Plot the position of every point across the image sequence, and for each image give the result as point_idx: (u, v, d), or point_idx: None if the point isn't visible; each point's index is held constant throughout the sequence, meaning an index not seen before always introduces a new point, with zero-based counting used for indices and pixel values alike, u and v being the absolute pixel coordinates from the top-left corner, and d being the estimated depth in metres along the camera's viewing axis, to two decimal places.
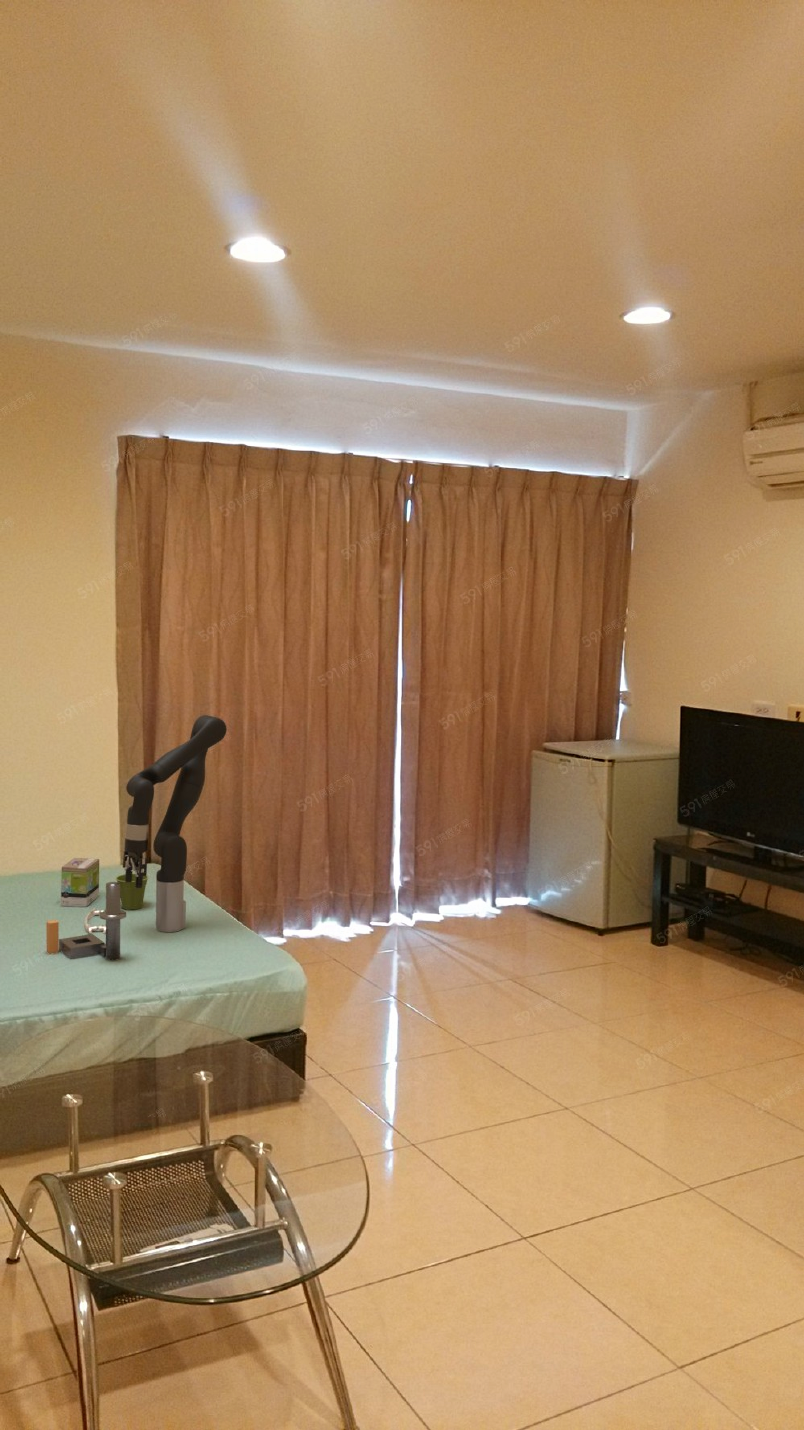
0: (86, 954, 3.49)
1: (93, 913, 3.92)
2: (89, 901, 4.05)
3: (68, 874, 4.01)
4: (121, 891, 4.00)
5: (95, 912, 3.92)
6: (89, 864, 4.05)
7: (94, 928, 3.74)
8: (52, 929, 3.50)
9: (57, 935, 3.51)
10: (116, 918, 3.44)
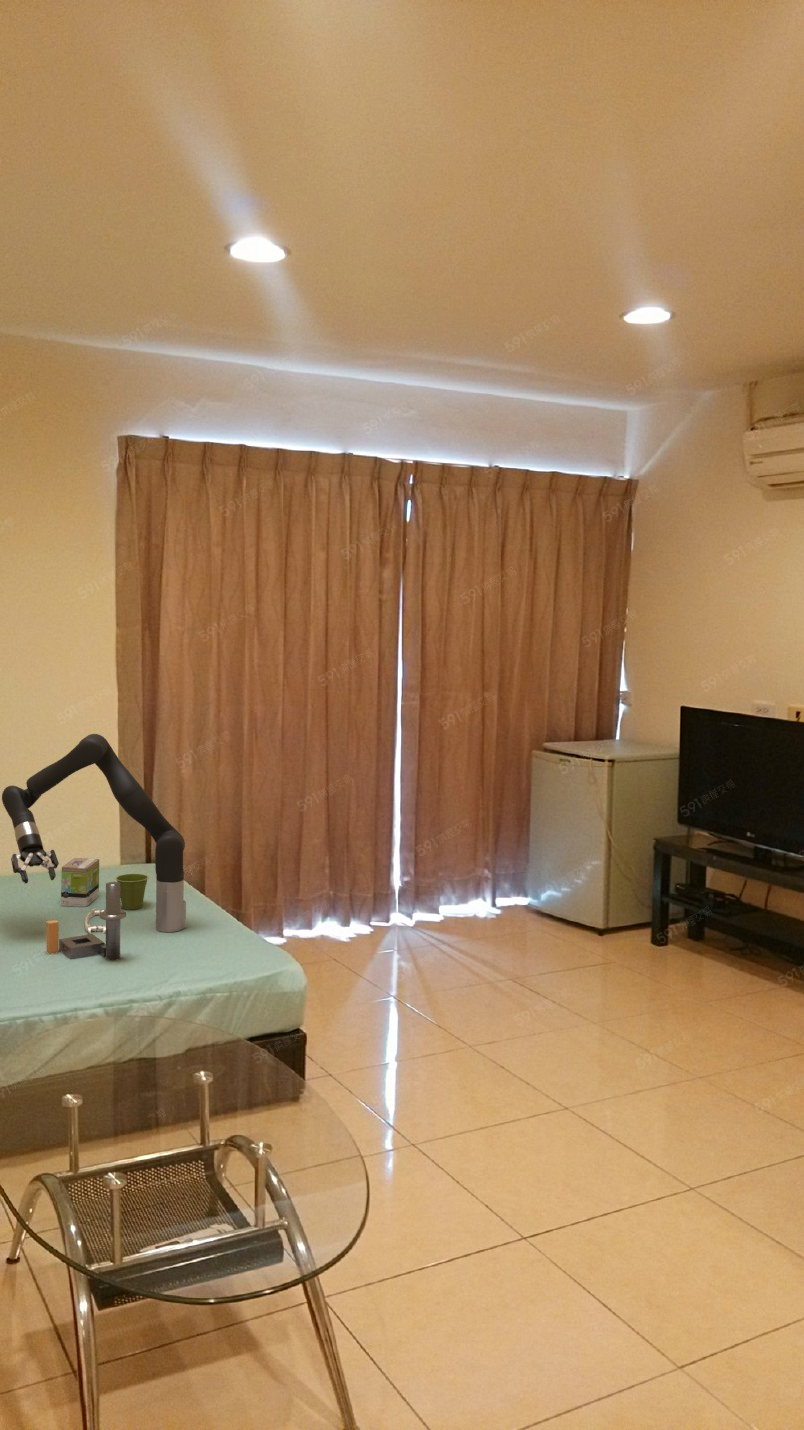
0: (86, 954, 3.49)
1: (93, 913, 3.92)
2: (89, 901, 4.05)
3: (68, 874, 4.01)
4: (121, 891, 4.00)
5: (95, 912, 3.92)
6: (89, 864, 4.05)
7: (94, 928, 3.74)
8: (52, 929, 3.50)
9: (57, 935, 3.51)
10: (116, 918, 3.44)
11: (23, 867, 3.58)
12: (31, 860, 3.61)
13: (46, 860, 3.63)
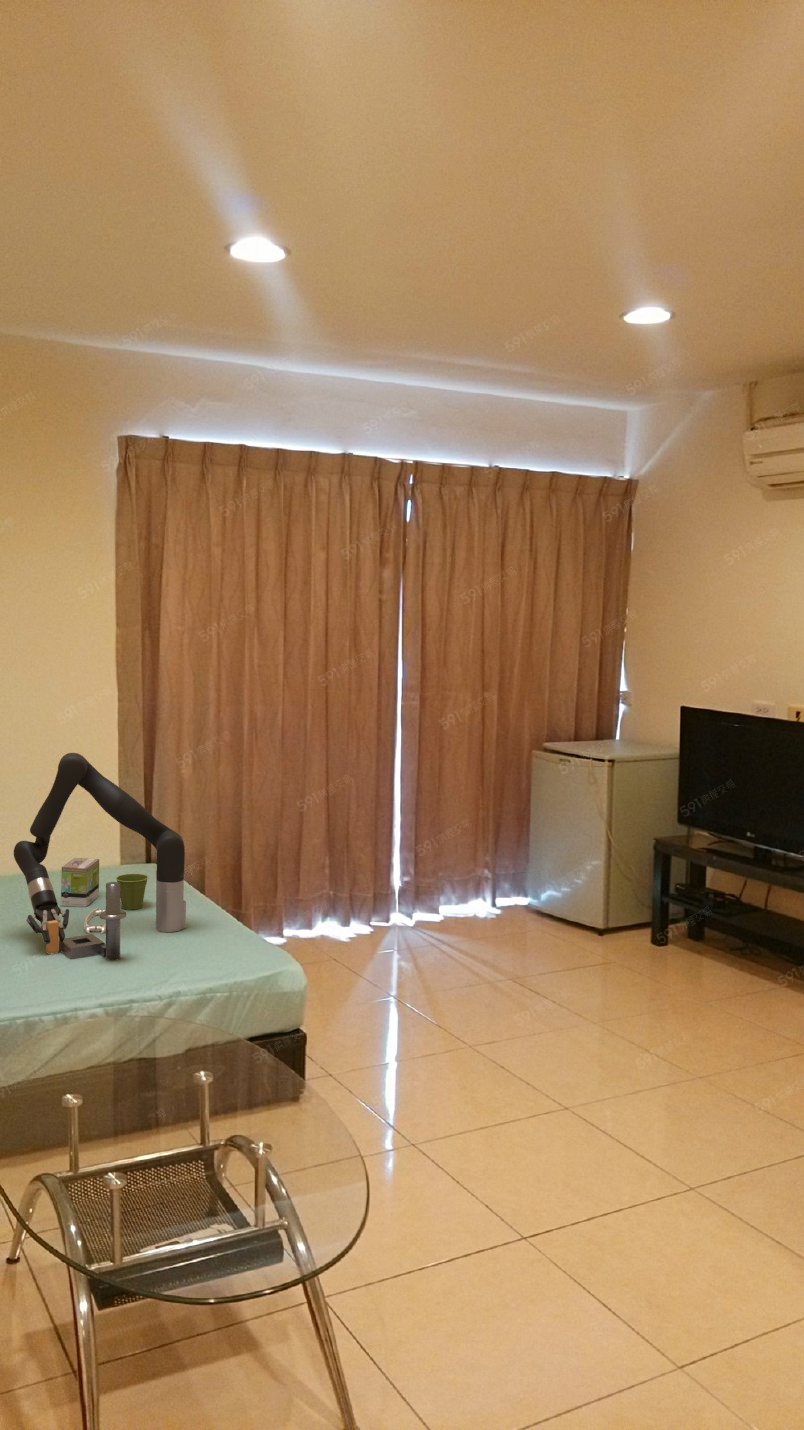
0: (86, 954, 3.49)
1: (95, 913, 3.92)
2: (89, 901, 4.05)
3: (68, 874, 4.01)
4: (121, 891, 4.00)
5: (97, 912, 3.92)
6: (89, 864, 4.05)
7: (92, 928, 3.74)
8: (52, 929, 3.50)
9: (57, 935, 3.51)
10: (116, 918, 3.44)
11: (44, 927, 3.50)
12: (47, 917, 3.53)
13: (57, 919, 3.54)
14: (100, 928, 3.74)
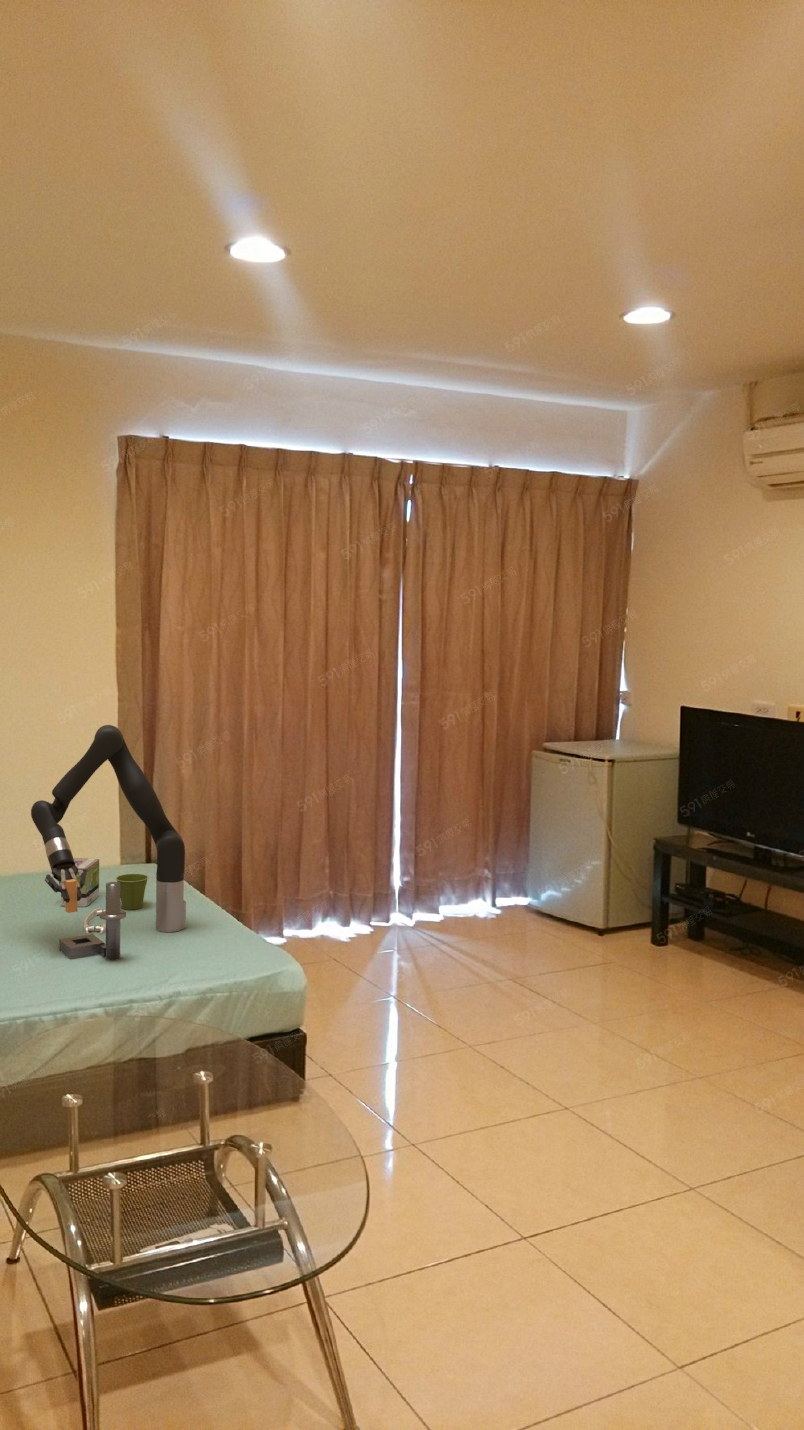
0: (86, 954, 3.49)
1: (96, 913, 3.92)
2: (89, 901, 4.05)
3: None
4: (121, 891, 4.00)
5: (98, 912, 3.92)
6: (89, 864, 4.05)
7: (91, 928, 3.74)
8: (71, 888, 3.50)
9: (76, 894, 3.51)
10: (116, 918, 3.44)
11: (63, 886, 3.50)
12: (65, 876, 3.53)
13: (74, 878, 3.53)
14: (99, 928, 3.74)
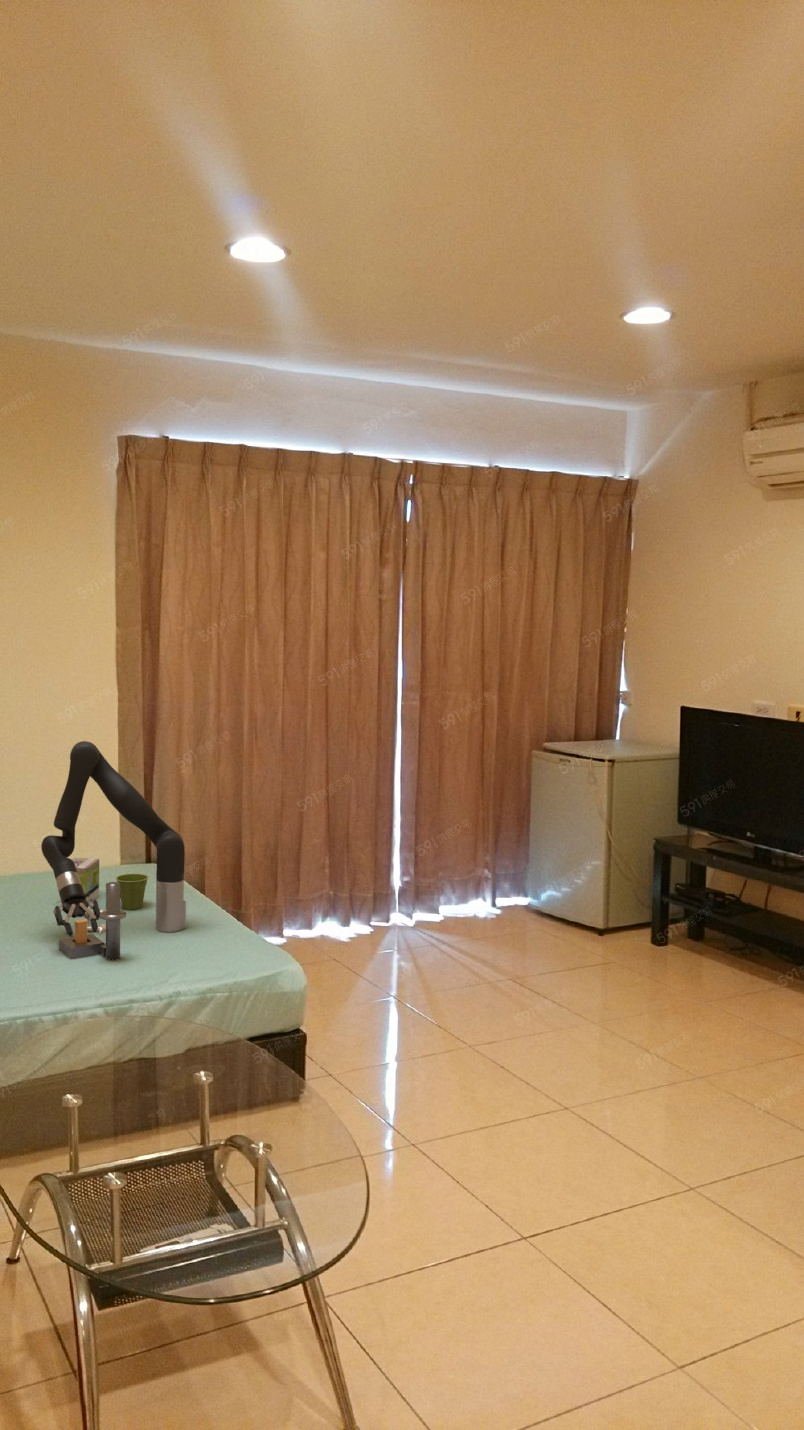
0: (86, 954, 3.49)
1: None
2: (89, 901, 4.05)
3: None
4: (121, 891, 4.00)
5: None
6: (89, 864, 4.05)
7: (90, 928, 3.74)
8: (81, 929, 3.52)
9: (86, 934, 3.53)
10: (116, 918, 3.44)
11: (67, 919, 3.51)
12: (74, 911, 3.54)
13: (88, 911, 3.56)
14: (98, 928, 3.74)
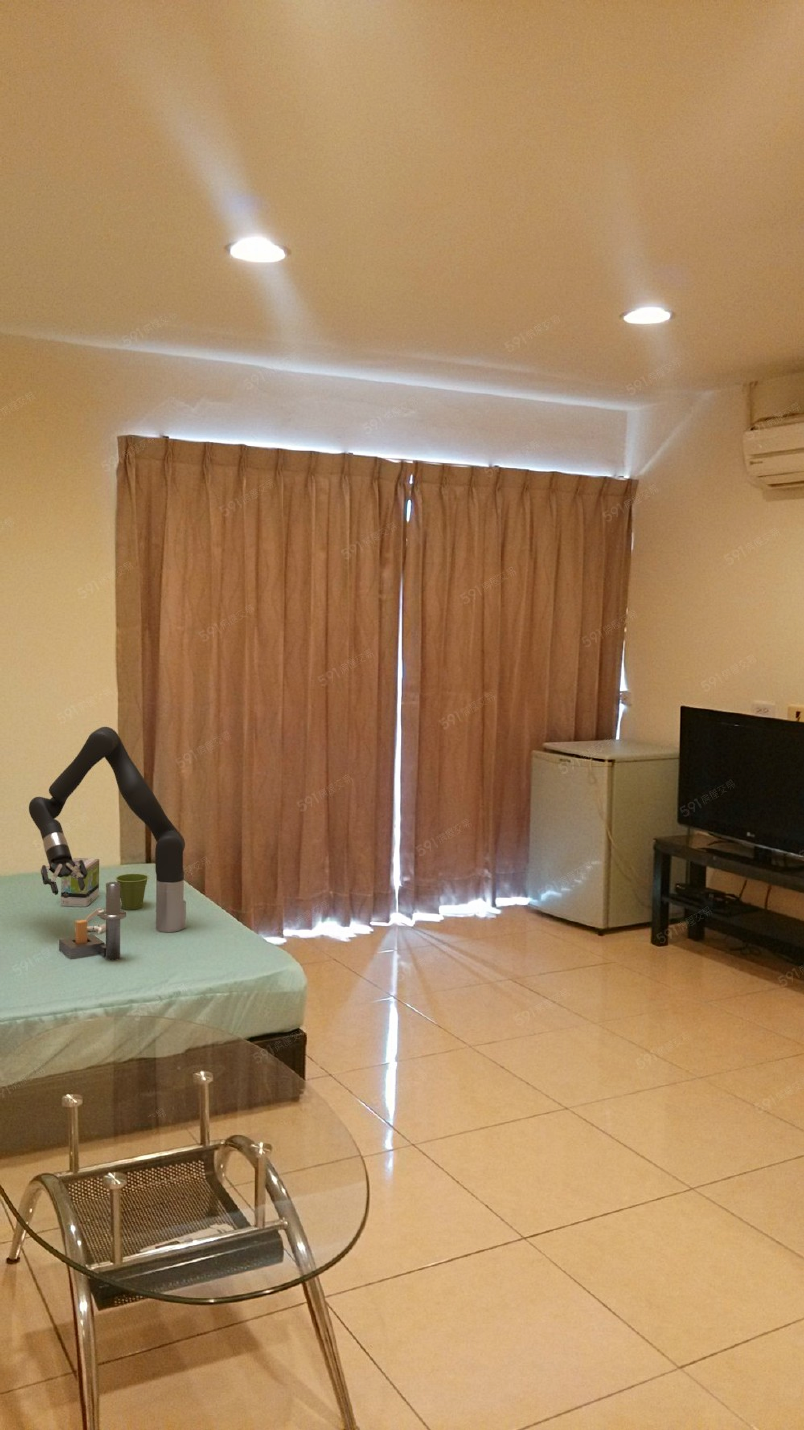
0: (86, 954, 3.49)
1: (97, 912, 3.92)
2: (89, 901, 4.05)
3: None
4: (121, 891, 4.00)
5: (99, 912, 3.92)
6: (89, 864, 4.05)
7: (90, 928, 3.74)
8: (81, 929, 3.52)
9: (86, 934, 3.53)
10: (116, 918, 3.44)
11: (53, 878, 3.60)
12: (60, 871, 3.63)
13: (75, 870, 3.65)
14: (97, 928, 3.74)
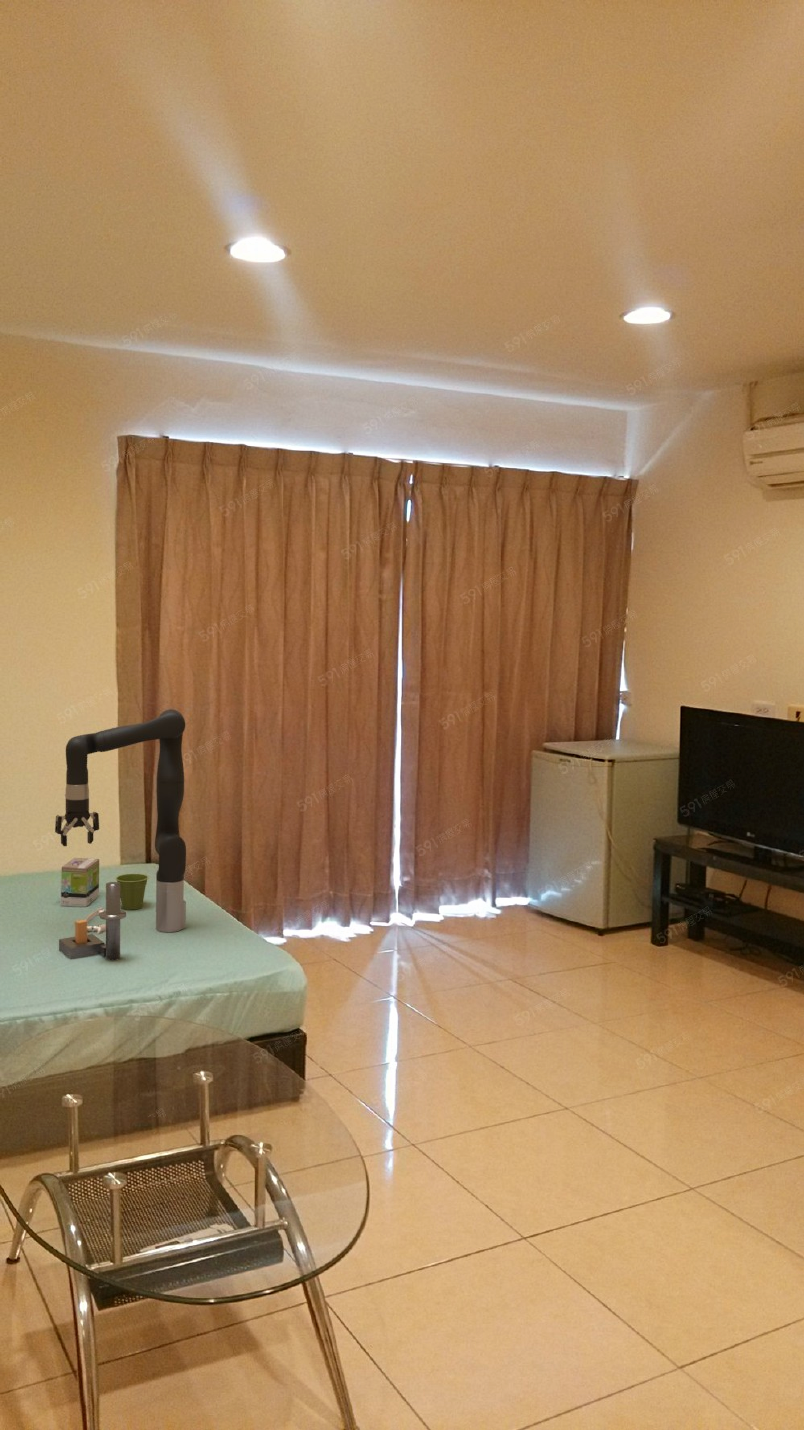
0: (86, 954, 3.49)
1: (98, 912, 3.92)
2: (89, 901, 4.05)
3: (68, 874, 4.01)
4: (121, 891, 4.00)
5: (100, 911, 3.93)
6: (89, 864, 4.05)
7: (89, 928, 3.74)
8: (81, 929, 3.52)
9: (86, 934, 3.53)
10: (116, 918, 3.44)
11: (65, 832, 3.66)
12: (74, 824, 3.68)
13: (88, 826, 3.70)
14: (97, 928, 3.74)
